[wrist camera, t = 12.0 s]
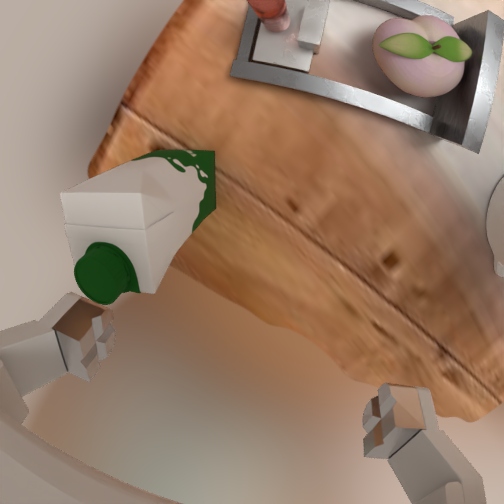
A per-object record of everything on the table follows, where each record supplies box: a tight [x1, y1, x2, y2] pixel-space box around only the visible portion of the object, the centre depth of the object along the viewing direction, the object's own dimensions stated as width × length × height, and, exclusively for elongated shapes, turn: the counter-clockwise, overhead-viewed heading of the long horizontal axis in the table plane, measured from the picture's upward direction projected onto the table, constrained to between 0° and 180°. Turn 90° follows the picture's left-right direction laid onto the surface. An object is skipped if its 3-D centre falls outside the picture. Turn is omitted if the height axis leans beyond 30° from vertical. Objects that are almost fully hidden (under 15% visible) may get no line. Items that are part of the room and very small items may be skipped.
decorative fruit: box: [373, 15, 472, 97], centre depth 22 cm, size 9×8×10 cm
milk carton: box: [60, 150, 216, 305], centre depth 28 cm, size 9×9×20 cm
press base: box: [230, 0, 504, 154], centre depth 23 cm, size 24×14×9 cm, turn 78°
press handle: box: [247, 0, 330, 73], centre depth 22 cm, size 6×10×12 cm, turn 168°
